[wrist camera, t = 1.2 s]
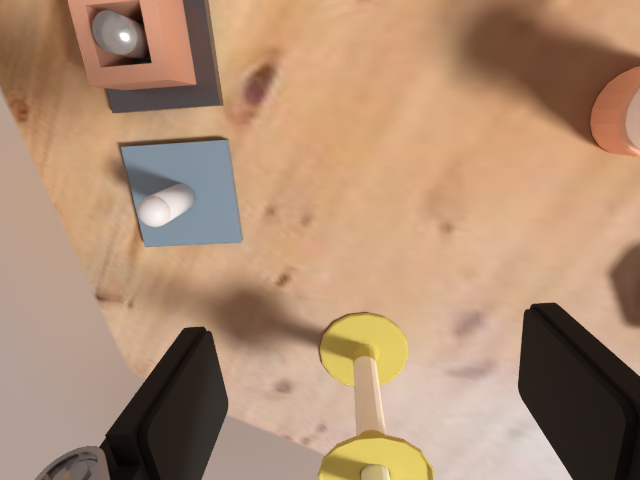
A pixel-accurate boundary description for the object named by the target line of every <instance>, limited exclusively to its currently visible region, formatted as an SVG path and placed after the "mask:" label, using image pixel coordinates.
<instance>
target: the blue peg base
mask: <svg viewBox="0 0 640 480" xmlns="http://www.w3.org/2000/svg"><path fill="white" fill-rule="evenodd" d="M121 150H122V154H123V158H124V163H125V167H126V171H127V175H128V179H129V183H130V187H131V191H132V196H133V200H134V204H135V208H136V212H137V216H138V220H139V224H140V229H141V233H142V237H143V241H144V245H145V247H160V246H182V245H204V244H226V243H241V241H242V240H243V236H242V230H241V223H240V216H239V209H238V202H237V195H236V188H235V182H234V175H233V168H232V161H231V154H230V147H229V140H228V139H227V140H212V141H197V142H182V143H167V144H152V145H138V146H125V147H121Z"/></svg>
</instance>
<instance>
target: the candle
mask: <svg viewBox="0 0 640 480" xmlns="http://www.w3.org/2000/svg"><path fill="white" fill-rule="evenodd" d="M320 355H321V360H322V364H323V365H324V367H325V368H326V369H327V371H328V372H329V374H330V375H331V376H332V377H334V378H335V379H337V380H338V381H340V382H342V383H343V384H345V385H349V386H354V393H355V414H356V435H357V436H355V437H353V438H350V439H348V440H346V441H343V442H341V443H338V444H337V445H336V446H335V447H334V448H333V449H332V450H331V451H330V452H329V453H328V454H327V455H326V456H325V457H324V458H323V461H322V464H321V467H320V470H319V473H318V480H434V475H433V468H432V466H431V464H430V463H429V461H428V460H427V458H426V457H425V456H424V454H423V453H422V451H421V450H420V449H418V448H416V447H415V446H413V445H412V444H410V443H408V442H407V441H405V440H404V439H401V438H396V437H392V436H387V435H386V430H385V423H384V416H383V409H382V401H381V394H380V387H379V386H380V385H382V384H384V383H386V382H389V381H391V380H392V379H393V378H394V377H395V376H396V375H397V374H398V373H399V372H400V371H401V370H402V369H403V367H404V364H405V362H406V359H407V357H408V348H407V339H406V338H405V336H404V335H403V333H402V331H401V330H400V328H399V327H398V326H397V325H396V324H394V323H393V322H391V321H390V320H389V319H387V318H386V317H384V316H380V315H375V314H371V313H358V314H349V315H347V316H345V317H343V318H341V319H339V320H337V321H335V322H334V323H333V324H332V325H331V326H330V327H329V328H328V330H327V331H326V332H325V333H324V334H323V338H322V341H321V345H320Z"/></svg>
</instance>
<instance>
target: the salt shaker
mask: <svg viewBox="0 0 640 480" xmlns="http://www.w3.org/2000/svg"><path fill="white" fill-rule="evenodd" d="M590 126H591V131H592V136H593V137H594V139H595V140H596V142H597V143H598V145H599V146H600V147H602V148H603V149H605V150H606V151H608V152H610V153H615V154H619V155H625V156H632V157H638V158H640V67H635V68H632V69H630V70H628V71H625V72H623V73H621V74H619V75H618V76H617V77H615V78H614V79H613V80H612V81H610V82H609V83H608V84H607V85H606V86H605V88H604V89H603V90H602V91H601V93H600V94H599V95H598V97H597V99H596V101H595V104H594V106H593V108H592V112H591V120H590Z"/></svg>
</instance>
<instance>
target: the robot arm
mask: <svg viewBox="0 0 640 480" xmlns="http://www.w3.org/2000/svg"><path fill="white" fill-rule="evenodd" d="M518 389H519V393H520V396H521V398H522V400H523V402H524V403H525V405H526V406H527V408H528V409H529V411H530V413H531V414H532V416H533V417H534V419H535V420H536V422H537V424H538V425H539V427H540V428H541V430H542V432H543V433H544V435H545V436H546V438H547V439H548V441H549V443H550V444H551V446H552V447H553V449H554V450H555V452H556V454H557V455H558V457H559V458H560V460H561V462H562V463H563V465H564V466H565V468H566V469H567V471H568V473H569V474H570V476H571V477H572V479H573V480H640V376H639V375H637V374H636V373H635V372H634V371H633V370H632V369H631V368H629V367H628V366H627V365H626V364H625V363H624V362H623V361H622V360H620V359H619V358H618V357H617V356H616V355H615V354H614V353H612V352H611V351H610V350H609V349H608V348H607V347H606V346H604V345H603V344H602V343H601V342H600V341H599V340H598V339H596V338H595V337H594V336H593V335H592V334H591V333H590V332H589V331H587V330H586V329H585V328H584V327H583V326H582V325H581V324H579V323H578V322H577V321H576V320H575V319H574V318H573V317H571V316H570V315H569V314H568V313H567V312H566V311H565V310H564V309H562V308H561V307H560V306H559V305H558V304H556V303H539V304H532V305H531V307H530V309H527V310H525V312H524V319H523V331H522V343H521V355H520V367H519V380H518ZM227 411H228V397H227V393H226V389H225V385H224V381H223V377H222V373H221V369H220V365H219V361H218V357H217V353H216V349H215V344H214V340H213V336H212V333H211V332H210V331H206V329H205V327H189V328H184V329H183V330H182V331H181V333H180V334H179V336H178V337H177V338H176V340H175V341H174V342H173V344H172V345H171V346H170V348H169V349H168V350H167V352H166V353H165V355H164V356H163V357H162V359H161V360H160V361H159V363H158V364H157V365H156V367H155V368H154V370H153V371H152V372H151V374H150V375H149V376H148V378H147V379H146V380H145V382H144V383H143V385H142V386H141V387H140V389H139V390H138V392H137V393H136V394H135V395H134V397H133V398H132V400H131V401H130V402H129V404H128V405H127V406H126V408H125V409H124V410H123V412H122V413H121V414H120V416H119V417H118V419H117V420H116V421H115V423H114V424H113V426H112V427H111V428H110V430H109V431H108V432H107V434H106V435H105V436H106V439H105V440H104V441H103V443H102V444H101V445H100V447H97V446H86V447H82V448H77V449H75V450H72V451H70V452H68V453H66V454H64V455H62V456H61V457H59V458H57V459H56V460H54V461H53V462H52V463H51V464H49V465H48V466H47V467H46V468H44V470H43V471H42V472H41V473H40V474H39V475H38V476H37V477H36V479H35V480H201V479H202V476H203V474H204V471H205V468H206V466H207V463H208V461H209V458H210V456H211V452H212V450H213V448H214V445H215V442H216V440H217V437H218V434H219V432H220V429H221V427H222V424H223V422H224V419H225V416H226V414H227Z"/></svg>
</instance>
